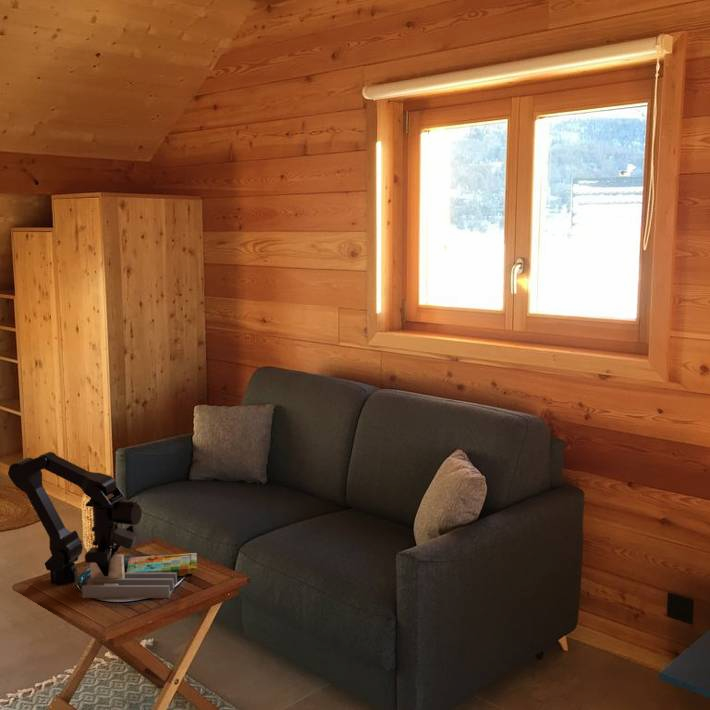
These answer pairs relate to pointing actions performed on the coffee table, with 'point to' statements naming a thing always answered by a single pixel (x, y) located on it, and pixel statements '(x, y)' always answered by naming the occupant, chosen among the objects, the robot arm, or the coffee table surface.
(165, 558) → the puzzle game
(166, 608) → the coffee table surface
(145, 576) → the rack
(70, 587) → the coffee table surface
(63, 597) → the coffee table surface
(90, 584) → the offcut dark
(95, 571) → the beige square panel
